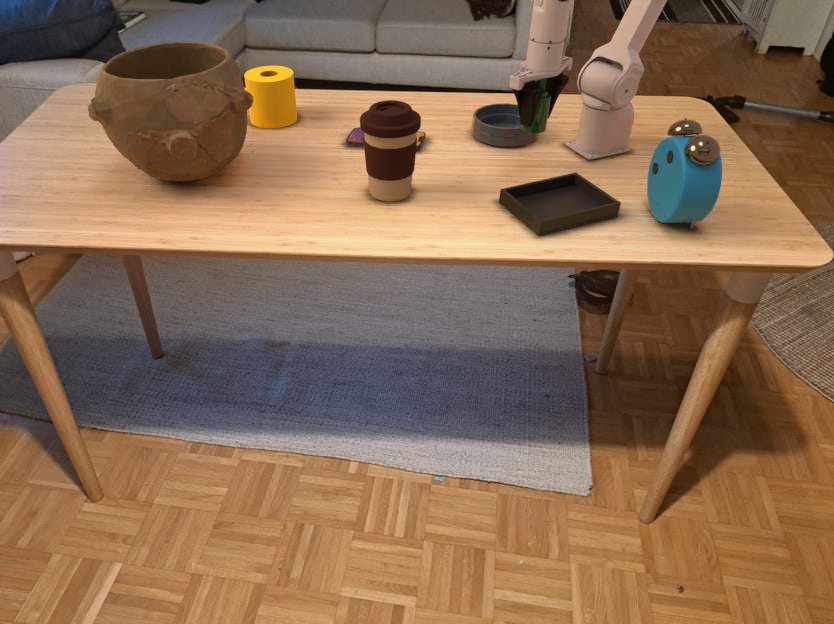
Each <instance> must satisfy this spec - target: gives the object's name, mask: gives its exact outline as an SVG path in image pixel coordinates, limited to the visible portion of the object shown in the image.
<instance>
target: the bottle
mask: <svg viewBox="0 0 834 624" xmlns="http://www.w3.org/2000/svg"><path fill="white" fill-rule="evenodd" d="M536 84H537V87H540V88H543V89H545V91H544V92H543V94H542V96H541V98H540V100H539V103H538V105H537V109H536V113H535V117H534V121H533V124H532V126H530V127H528V126H525V125H522V124H521V130H522V131H524V132H527V133H533V134H537V133H538V134H542V133H544V132H546V130H547V125H548V119H549V118H548V113H549V107H550V101H551V94H550V93H548V89H547V88H546V84H547V78H543V79H540V80H538V81H536ZM536 84H535V85H536Z"/></svg>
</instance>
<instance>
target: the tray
mask: <svg viewBox="0 0 834 624" xmlns="http://www.w3.org/2000/svg"><path fill="white" fill-rule="evenodd" d="M498 204H500V205H501V206H502V207H503V208H504V209H506V210H507V211H508V212H510V214H512V215H513V216H514V217H516V219H518V220H519V221H520V222H521V223H522V224H524V225H525V226H526V228H528V229H530V231H532V232H533V233H535V234H536V236H538V237H541V236H545V235H550V234H554V233H557V232H561V231H565V230H569V229H573V228H577V227H580V226H584V225H588V224H589V225H590V224H592V223H597V222H601V221H605V220H610V219H613V218H616V217H617V218H618V216H619V213H620V212H619V211H620V209H621V205H622V202H621V201H619V200H618V199H617V198H614V196H611V194H609V193H607V191H604V189H601V188H600V187H598V186H597V185H596V184H594V183H593V182H591V181H589V179H587V178H585V177H584V176H582V175H581V174H580V173H578V172H576V171H575V172H571V173H566V174H562V175H558V176H553V177H548V178H545V179H539V180H535V181H531V182H530V181H529V182H527V183H522V184H516V185H512V186H508V187H504V188H500V190H499V200H498Z"/></svg>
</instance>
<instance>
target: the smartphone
mask: <svg viewBox="0 0 834 624" xmlns="http://www.w3.org/2000/svg"><path fill="white" fill-rule="evenodd" d="M426 135H427V134H426V132H425V131H422V130H421V131H420V130H418V131H417V132H416V137H417V146H416V151H419V150H421V148H422V147H423V144H424V142H425V140H426V138H427V136H426ZM364 137H365V136H364V132H363V131H362V130H361V128H360V126H359V127H354V128H353V129H351V132H350V133H349V135H348V136H347V138H346V139H345V144H346V145H347V146H350V147H360V148H361V147H362V148H364Z"/></svg>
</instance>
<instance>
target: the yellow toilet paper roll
mask: <svg viewBox="0 0 834 624" xmlns="http://www.w3.org/2000/svg"><path fill="white" fill-rule="evenodd" d="M243 77H244V84H245V85H244V86H245V91H247V92H249V93H250V94H251V95H252V96H253V104H252V107H250V108H249V109H248V112H249V121H250V124H251V125H253V126H254V127H257V128H260V129H281V128H285V127H288V126H291V125H293V124H294V123H296V122H297V120H298V111H297V99H296V88H295V87H296V86H295V76H294V71H293V70H292V69H291V68H290V67H287V66H284V65H283V66H282V65H263V66H257V67H254V68H251V69H248V70H247V71H246V72H245V73H244V75H243Z"/></svg>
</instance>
